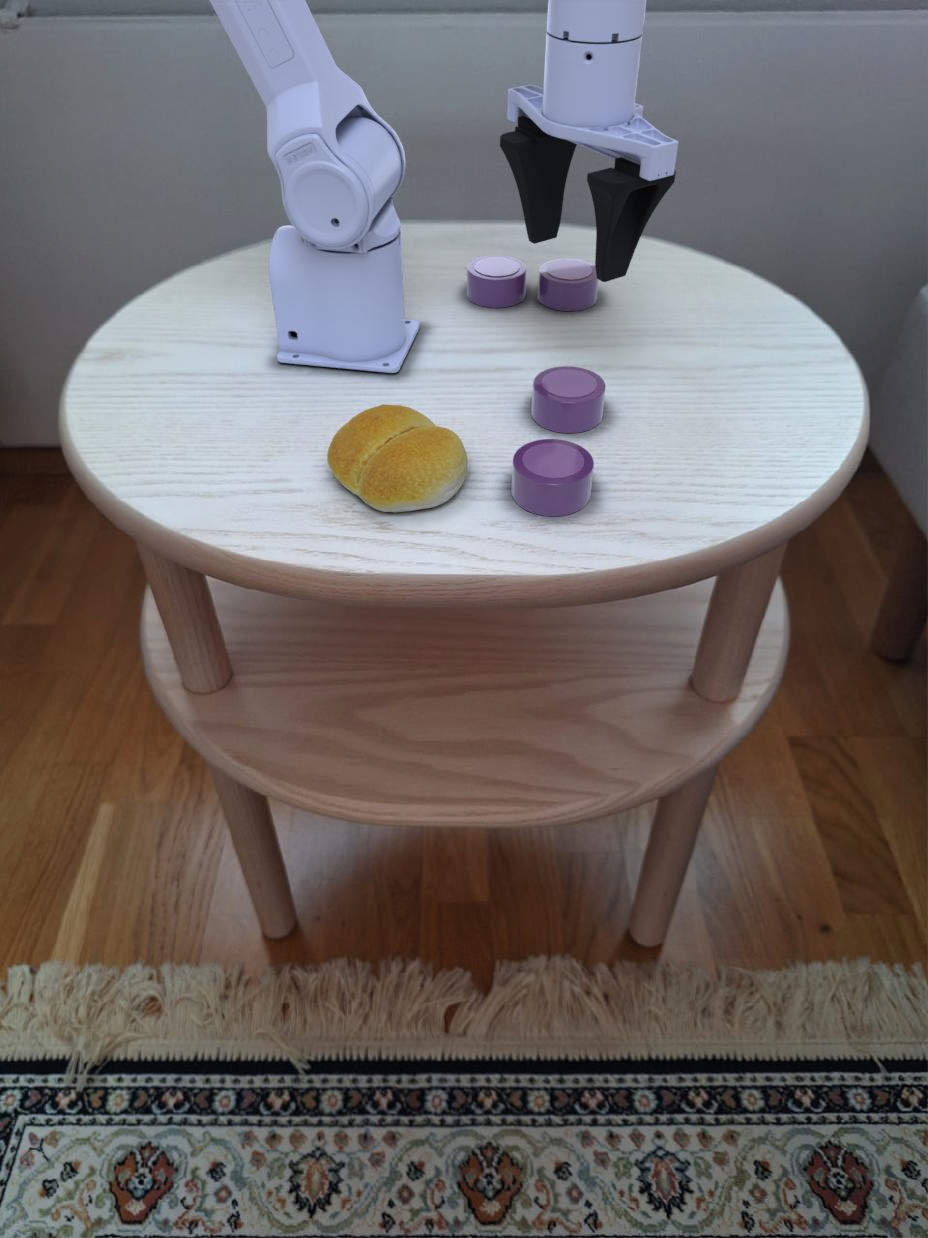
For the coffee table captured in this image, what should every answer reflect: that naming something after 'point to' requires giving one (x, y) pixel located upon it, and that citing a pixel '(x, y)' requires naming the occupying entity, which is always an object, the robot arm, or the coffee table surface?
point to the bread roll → (397, 459)
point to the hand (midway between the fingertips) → (575, 257)
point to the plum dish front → (552, 477)
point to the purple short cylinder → (496, 281)
